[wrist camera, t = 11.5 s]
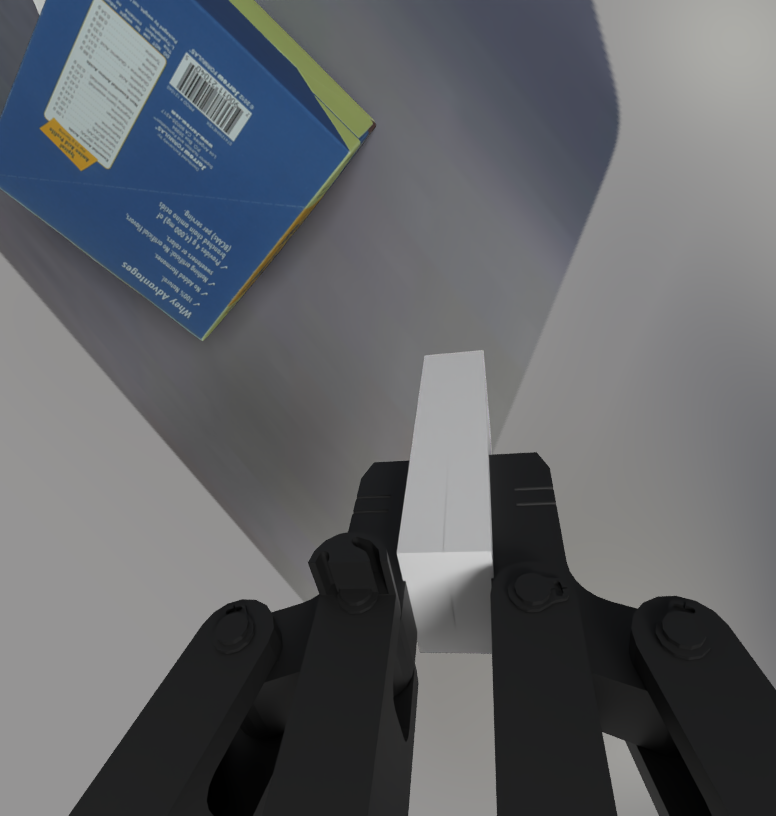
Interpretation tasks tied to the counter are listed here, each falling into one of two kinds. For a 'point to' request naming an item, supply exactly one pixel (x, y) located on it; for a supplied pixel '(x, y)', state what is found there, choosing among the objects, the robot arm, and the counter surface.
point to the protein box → (174, 143)
